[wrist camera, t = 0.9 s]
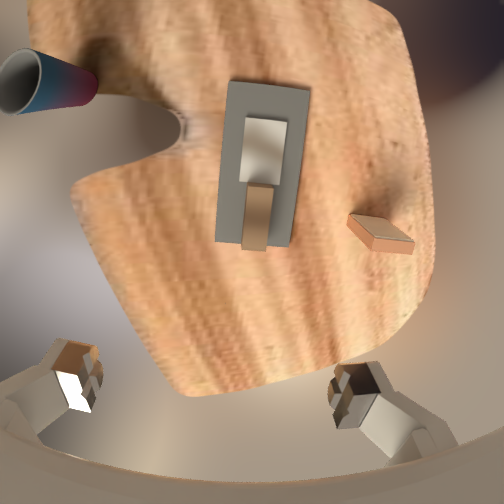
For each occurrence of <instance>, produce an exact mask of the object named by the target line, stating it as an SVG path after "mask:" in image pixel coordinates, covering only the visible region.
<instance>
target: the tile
mask: <svg viewBox="0 0 504 504" xmlns="http://www.w3.org/2000/svg"><path fill="white" fill-rule="evenodd" d="M347 226H348V227H349V228H350V230H351V231H352V232H353V233H354V234H355V235H356V236H357V237H358V238H359V239H360V240H361V241H362V242H363V243H364V244H365V245H366V246H367V247H368V248H369V249H370V251H376V252H387V253H398V254H409V255H412V253H413V250H414V246H415V242H414V240H413V239H411V238H410V237H409V236H408V235H406V234H405V233H404V232H402V231H401V230H400V229H398V228H397V227H396V226H394V225H393V224H392V223H391V222H389V221H388V220H386V219H385V218H379V217H371V216H364V215H356V214H351V215H349V216H348V220H347Z"/></svg>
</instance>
